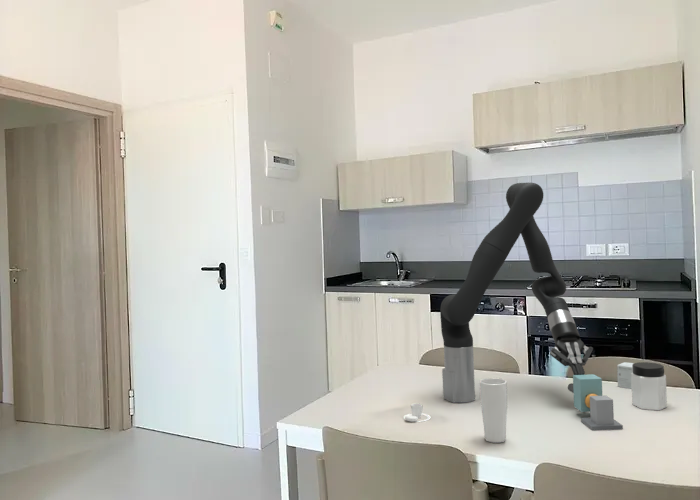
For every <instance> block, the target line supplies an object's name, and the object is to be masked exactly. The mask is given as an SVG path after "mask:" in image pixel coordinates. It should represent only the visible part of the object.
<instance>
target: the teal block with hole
mask: <svg viewBox="0 0 700 500" xmlns="http://www.w3.org/2000/svg"><path fill="white" fill-rule="evenodd" d="M572 383H573V392H574V393H573V407H574V408H575V409H577V410H578V412H581V413H585V412H586V413H588V412H589V413H590V408H588V407H587V406H586V404H585V398H586V395H589V394H596V395H598V396H603V379H602V377H600V376H597V375H596V374H594V373H593V374H592V373H591V374H590V373H589V374H584V375H574V374H573V375H572Z"/></svg>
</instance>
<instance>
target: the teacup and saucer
mask: <svg viewBox="0 0 700 500" xmlns="http://www.w3.org/2000/svg"><path fill="white" fill-rule="evenodd" d="M410 409H411V410H410V411H411V413H407V414H404V416H402V417H403V420H405V421H407V422H411V423H423V422H427V421H430V420H431V418H432V417H431V415H429V414H428V413H424V412H423V405H422V404H421V403H411V404H410ZM422 416H425V417H426V419H422V420H419V419H421V417H422Z"/></svg>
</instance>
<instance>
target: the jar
mask: <svg viewBox="0 0 700 500" xmlns="http://www.w3.org/2000/svg"><path fill="white" fill-rule="evenodd" d="M633 363H634V364H633V365H632V367H633V373H631V385H632V389H631V404H632V405H633V406H634V407H636V406H637V408H639V409H640V410H648V411H649V410H650V411H662V410H663V409H666V408H667V407H668V400H667V399H668V398H667V397H668V395H667V375H666V374H665V367H664V365H663V364H660V363H657V362H650V361H649V362H643V361H642V362H641V361H640V362H633Z"/></svg>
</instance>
